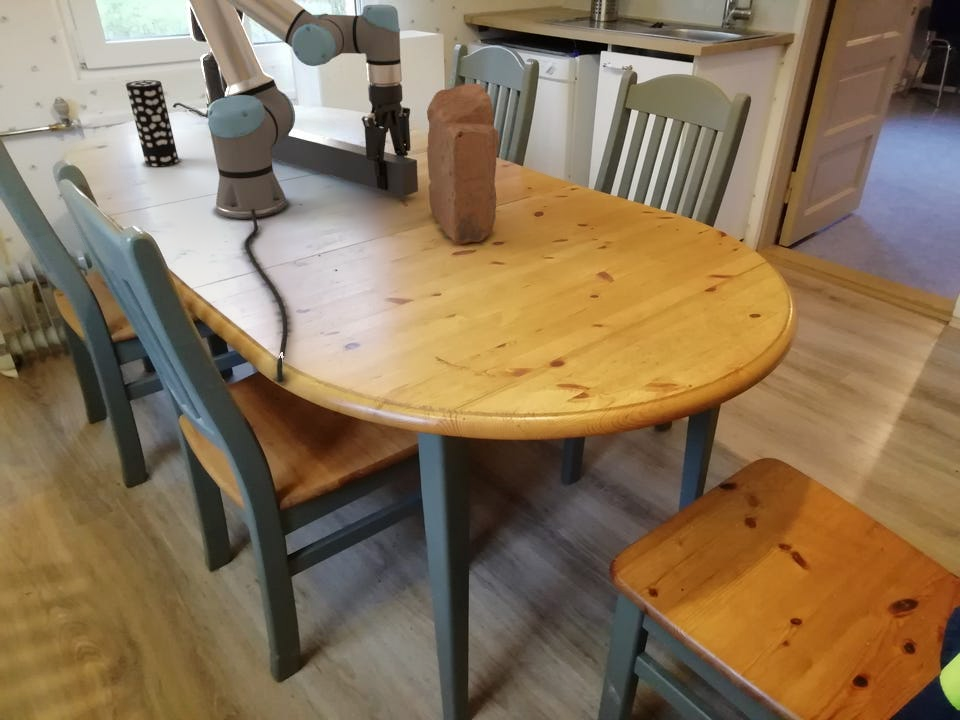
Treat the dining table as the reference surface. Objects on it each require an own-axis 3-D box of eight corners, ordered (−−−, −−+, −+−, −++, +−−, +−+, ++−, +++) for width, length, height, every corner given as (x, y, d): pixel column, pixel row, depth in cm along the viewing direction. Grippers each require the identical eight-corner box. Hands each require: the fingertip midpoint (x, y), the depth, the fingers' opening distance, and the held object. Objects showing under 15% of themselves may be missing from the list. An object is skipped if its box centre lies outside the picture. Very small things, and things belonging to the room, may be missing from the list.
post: (418, 191, 164) (417, 159, 160) (403, 196, 161) (402, 164, 157) (240, 141, 199) (235, 114, 195) (225, 145, 196) (220, 118, 191)
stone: (507, 241, 142) (509, 97, 128) (455, 247, 139) (451, 101, 125) (475, 209, 160) (474, 80, 146) (428, 214, 157) (422, 83, 143)
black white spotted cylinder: (184, 157, 190) (167, 80, 179) (169, 166, 183) (151, 87, 172) (155, 156, 190) (136, 79, 179) (139, 165, 183) (119, 86, 172)
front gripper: (400, 75, 161) (404, 173, 173) (343, 87, 149) (352, 192, 161) (424, 79, 157) (427, 179, 170) (367, 92, 145) (375, 199, 158)
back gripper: (248, 66, 190) (258, 129, 199) (202, 74, 180) (215, 140, 189) (265, 70, 186) (274, 134, 195) (219, 78, 176) (232, 145, 186)
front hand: (390, 185), depth 165 cm, fingers closed on post, 5 cm apart
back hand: (245, 136), depth 192 cm, fingers closed on post, 5 cm apart
